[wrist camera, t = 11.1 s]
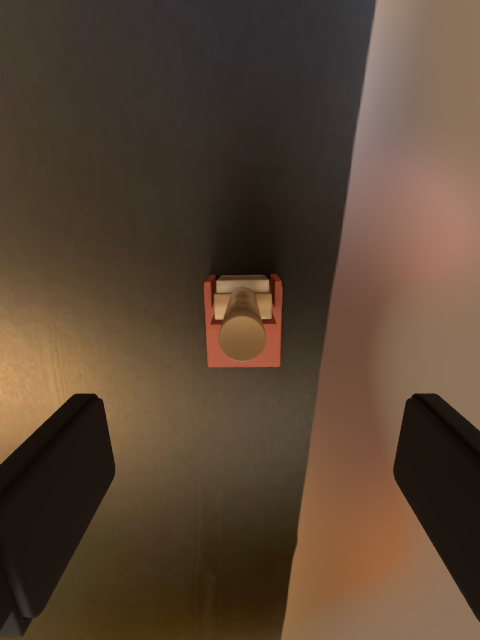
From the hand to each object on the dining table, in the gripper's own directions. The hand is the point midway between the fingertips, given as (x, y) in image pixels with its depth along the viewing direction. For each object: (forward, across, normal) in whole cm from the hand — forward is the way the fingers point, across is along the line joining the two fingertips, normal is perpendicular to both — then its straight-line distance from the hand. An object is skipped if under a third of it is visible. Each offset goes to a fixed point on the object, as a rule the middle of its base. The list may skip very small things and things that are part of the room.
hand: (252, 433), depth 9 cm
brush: (+11, 0, -3) cm, 12 cm away
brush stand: (+22, +1, +3) cm, 22 cm away
